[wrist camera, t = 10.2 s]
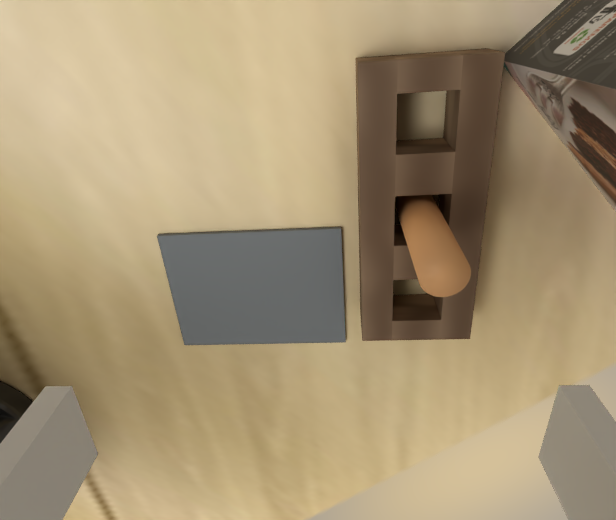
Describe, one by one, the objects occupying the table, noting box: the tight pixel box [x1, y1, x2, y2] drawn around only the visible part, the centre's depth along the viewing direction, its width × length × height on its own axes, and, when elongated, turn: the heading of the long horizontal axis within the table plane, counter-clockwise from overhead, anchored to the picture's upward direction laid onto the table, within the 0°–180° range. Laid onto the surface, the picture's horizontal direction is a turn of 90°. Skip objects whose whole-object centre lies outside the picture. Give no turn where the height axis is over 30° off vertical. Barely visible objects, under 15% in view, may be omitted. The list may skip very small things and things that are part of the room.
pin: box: [395, 195, 471, 297], centre depth 31 cm, size 3×3×12 cm
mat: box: [157, 227, 346, 345], centre depth 41 cm, size 16×12×1 cm
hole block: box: [356, 49, 505, 341], centre depth 35 cm, size 9×22×4 cm, turn 4°
